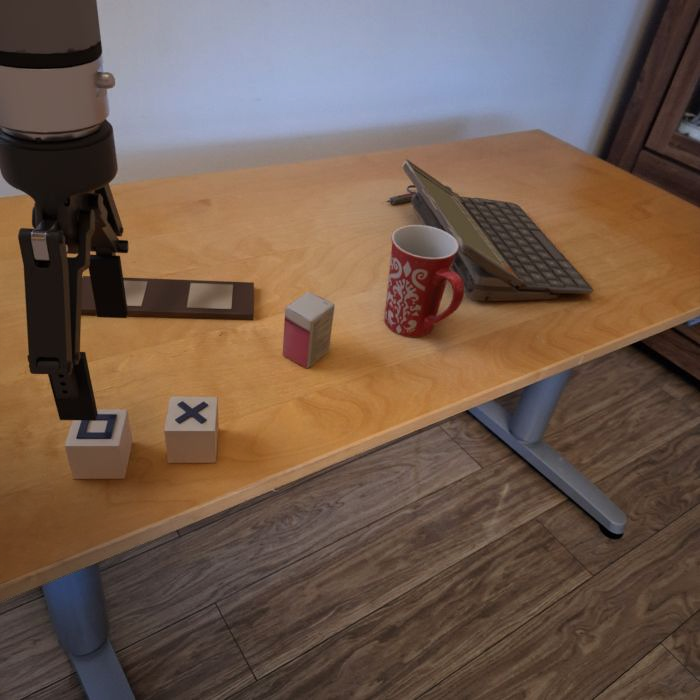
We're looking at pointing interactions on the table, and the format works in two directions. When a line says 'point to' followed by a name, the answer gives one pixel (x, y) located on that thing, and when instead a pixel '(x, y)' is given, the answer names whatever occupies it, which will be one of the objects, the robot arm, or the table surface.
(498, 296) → the laptop
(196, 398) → the tile
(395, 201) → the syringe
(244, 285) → the word board
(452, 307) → the mug
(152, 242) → the table surface
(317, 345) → the small box
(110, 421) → the tile
